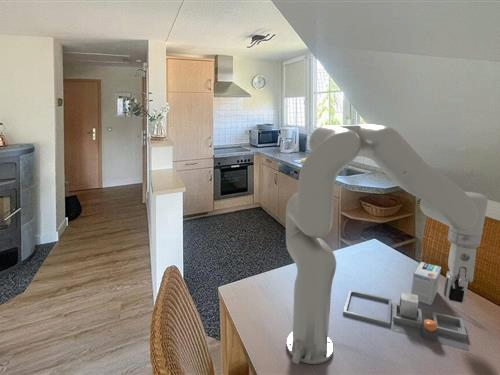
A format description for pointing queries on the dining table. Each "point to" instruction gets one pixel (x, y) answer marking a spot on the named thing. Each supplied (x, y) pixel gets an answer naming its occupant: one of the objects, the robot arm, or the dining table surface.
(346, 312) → the tray
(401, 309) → the block
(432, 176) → the robot arm
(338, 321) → the dining table surface
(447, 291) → the block
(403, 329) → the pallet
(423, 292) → the light bulb box
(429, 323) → the button
